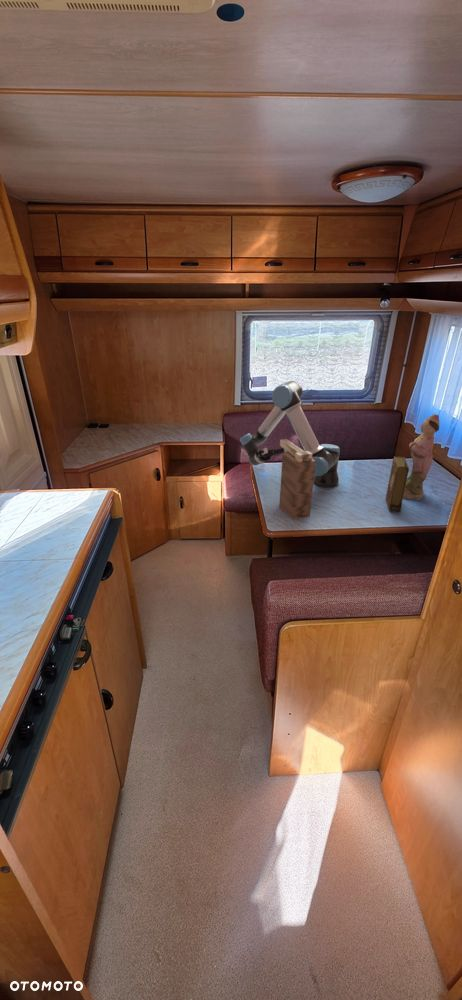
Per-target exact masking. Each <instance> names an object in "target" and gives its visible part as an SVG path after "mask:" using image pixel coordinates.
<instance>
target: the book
mask: <svg viewBox="0 0 462 1000" xmlns="http://www.w3.org/2000/svg"><path fill="white" fill-rule="evenodd" d="M409 470H410V466H409V464H408V462H407V460H406V458H405V456H402V455H394V456H393V458H392V463H391V470H390V474H389V479H388V485H387V491H386V493H385V494H386V495H385V501H386V502H385V503H386V506H387V509H388V511H389V512H390V511H395V512H398V513H400V512H401V508H402V505H403V500H404V498H403V495H404V491H405V486H406V481H407V477H409Z"/></svg>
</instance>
